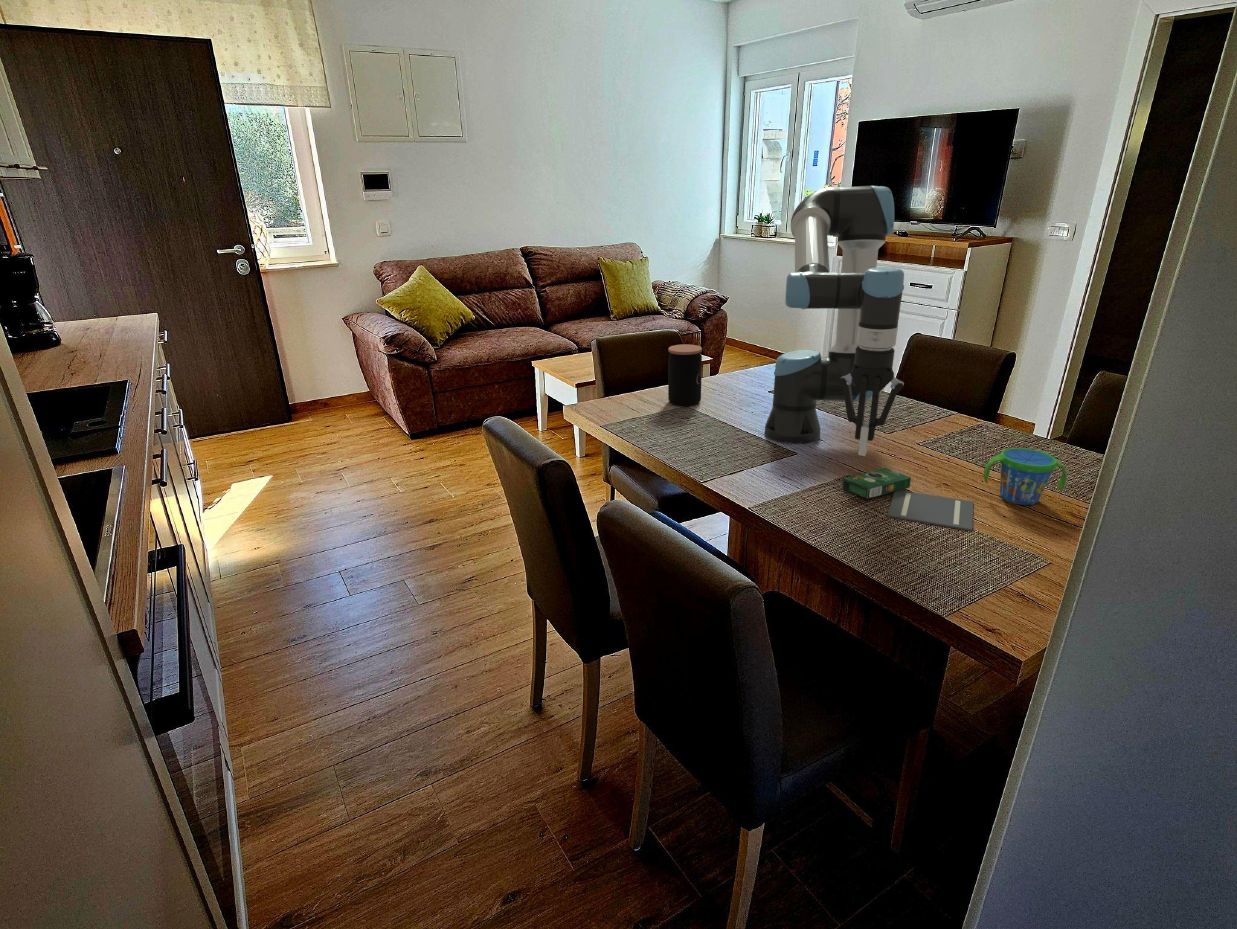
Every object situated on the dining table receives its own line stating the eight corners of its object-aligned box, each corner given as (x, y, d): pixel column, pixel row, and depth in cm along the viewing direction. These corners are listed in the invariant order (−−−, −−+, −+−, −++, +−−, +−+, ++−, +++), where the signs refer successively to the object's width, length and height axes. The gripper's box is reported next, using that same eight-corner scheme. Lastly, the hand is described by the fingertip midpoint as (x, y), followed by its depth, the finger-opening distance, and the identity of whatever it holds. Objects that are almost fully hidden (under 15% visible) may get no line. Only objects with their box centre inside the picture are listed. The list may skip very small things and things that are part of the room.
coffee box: (868, 500, 148) (911, 488, 153) (869, 488, 147) (912, 476, 153) (841, 489, 155) (883, 478, 160) (842, 478, 154) (884, 466, 159)
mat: (887, 516, 142) (887, 514, 142) (894, 490, 153) (895, 489, 153) (971, 531, 135) (972, 529, 135) (973, 503, 147) (973, 501, 146)
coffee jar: (702, 407, 214) (703, 351, 207) (669, 407, 215) (669, 352, 208) (699, 397, 224) (700, 343, 217) (667, 398, 224) (667, 344, 218)
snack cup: (1055, 494, 149) (1066, 451, 146) (1065, 514, 140) (1076, 469, 137) (977, 485, 155) (985, 444, 151) (981, 504, 146) (990, 461, 142)
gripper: (839, 348, 137) (828, 455, 146) (908, 353, 132) (892, 463, 141) (845, 340, 143) (834, 443, 153) (911, 345, 138) (895, 451, 147)
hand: (862, 453), depth 147 cm, fingers closed
